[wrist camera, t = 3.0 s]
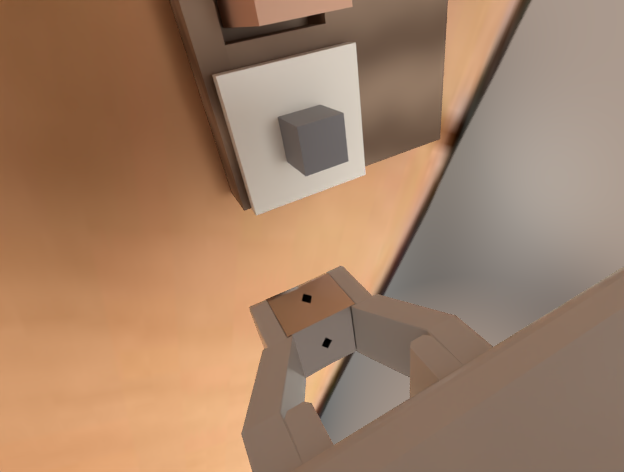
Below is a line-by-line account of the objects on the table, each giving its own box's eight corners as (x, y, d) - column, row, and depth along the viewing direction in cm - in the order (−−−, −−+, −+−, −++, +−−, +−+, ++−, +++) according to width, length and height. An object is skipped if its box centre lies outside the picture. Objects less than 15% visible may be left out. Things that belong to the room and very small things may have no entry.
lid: (212, 74, 20) (229, 82, 16) (347, 42, 22) (384, 43, 19) (252, 209, 25) (271, 235, 22) (358, 170, 27) (389, 188, 24)
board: (129, -122, 17) (131, -152, 15) (416, -142, 22) (457, -167, 20) (231, 192, 27) (244, 210, 25) (413, 130, 33) (439, 139, 30)
